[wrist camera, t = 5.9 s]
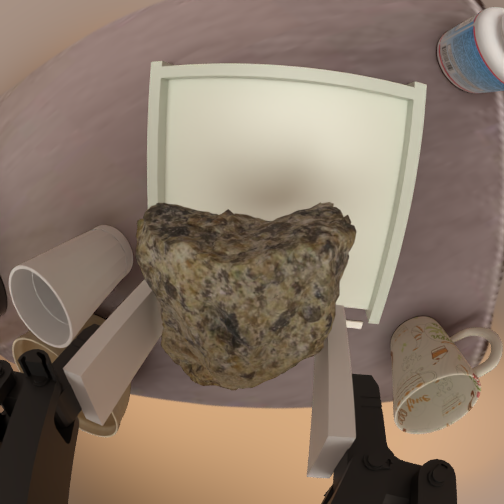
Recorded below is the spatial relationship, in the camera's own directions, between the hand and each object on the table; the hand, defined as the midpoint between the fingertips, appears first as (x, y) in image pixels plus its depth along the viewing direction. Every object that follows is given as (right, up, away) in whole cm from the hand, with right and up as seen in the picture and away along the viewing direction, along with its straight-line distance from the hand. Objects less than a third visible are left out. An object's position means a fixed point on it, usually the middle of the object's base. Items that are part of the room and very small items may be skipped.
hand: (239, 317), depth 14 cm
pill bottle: (+19, +19, +5) cm, 28 cm away
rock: (0, +2, -1) cm, 2 cm away
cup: (-15, +3, +18) cm, 24 cm away
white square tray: (+3, +8, +12) cm, 15 cm away
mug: (+20, -6, +15) cm, 26 cm away
